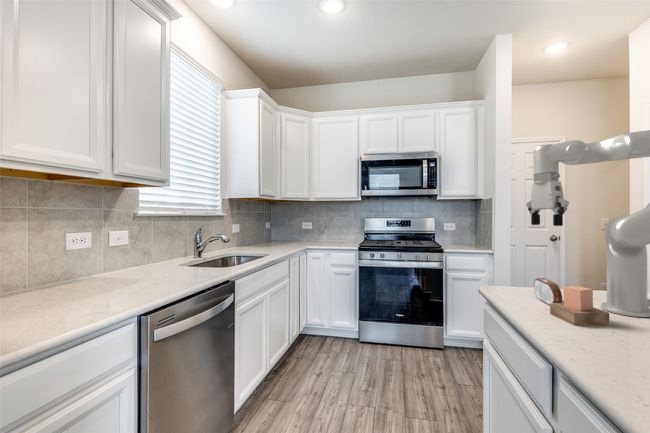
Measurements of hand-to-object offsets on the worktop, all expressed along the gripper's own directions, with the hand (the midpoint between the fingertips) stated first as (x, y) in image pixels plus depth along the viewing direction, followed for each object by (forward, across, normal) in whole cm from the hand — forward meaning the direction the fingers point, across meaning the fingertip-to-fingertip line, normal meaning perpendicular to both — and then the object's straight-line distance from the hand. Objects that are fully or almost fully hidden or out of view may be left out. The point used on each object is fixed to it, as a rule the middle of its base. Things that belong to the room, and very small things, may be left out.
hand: (546, 225), depth 112 cm
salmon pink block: (+25, -18, +6) cm, 31 cm away
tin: (+29, -1, +1) cm, 29 cm away
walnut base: (+29, -18, +6) cm, 34 cm away
